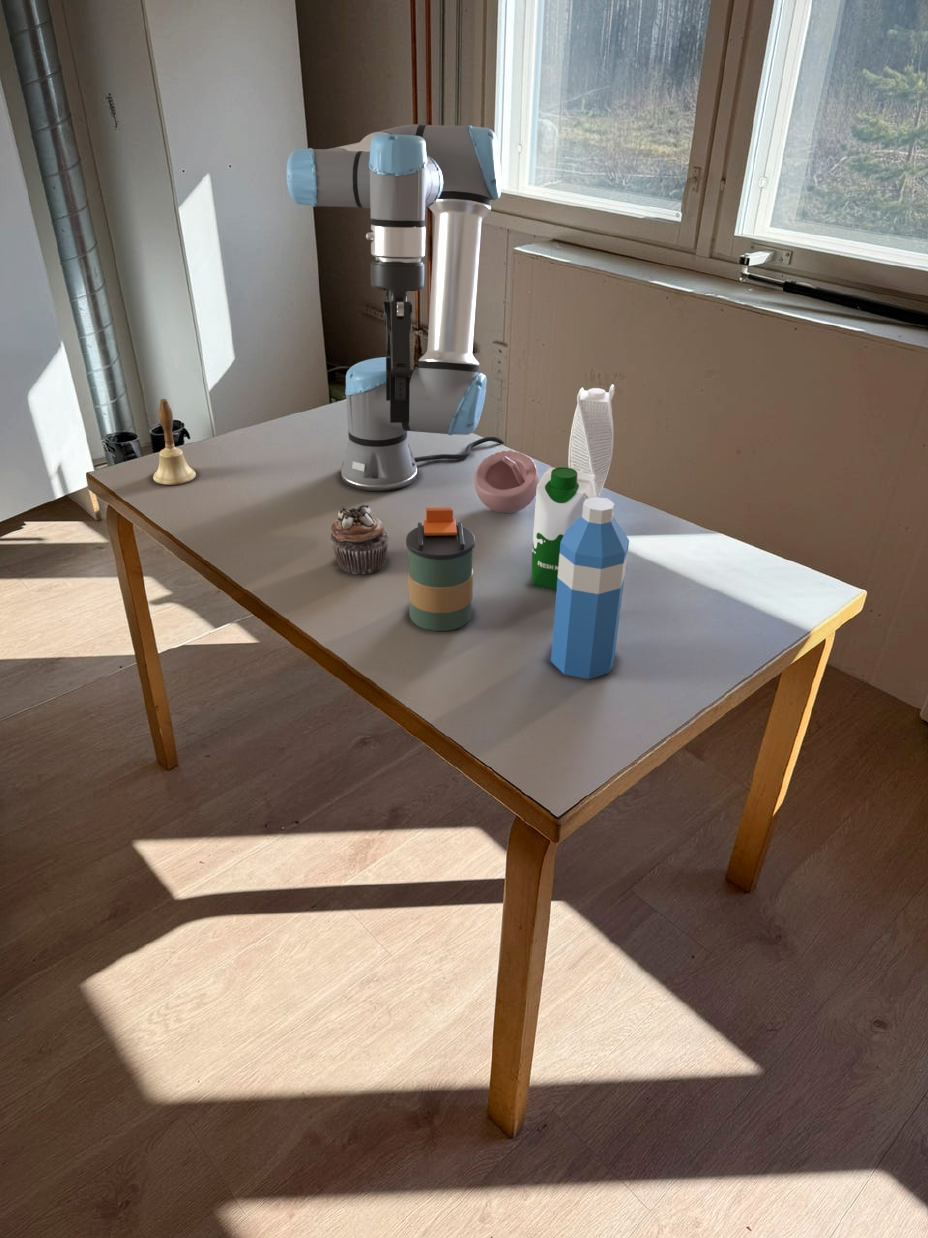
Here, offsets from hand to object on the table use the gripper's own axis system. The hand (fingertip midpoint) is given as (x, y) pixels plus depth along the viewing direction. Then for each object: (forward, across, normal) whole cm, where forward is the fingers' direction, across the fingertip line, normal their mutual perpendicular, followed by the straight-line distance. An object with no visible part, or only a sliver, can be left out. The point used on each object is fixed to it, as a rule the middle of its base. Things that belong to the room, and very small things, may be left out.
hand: (397, 410), depth 138 cm
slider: (+16, +8, +6) cm, 19 cm away
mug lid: (+17, +11, +6) cm, 21 cm away
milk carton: (+28, 0, +27) cm, 39 cm away
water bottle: (+31, +23, +26) cm, 46 cm away
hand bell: (+25, -47, -42) cm, 68 cm away
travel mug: (+29, +9, +6) cm, 32 cm away
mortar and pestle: (+25, -26, +22) cm, 43 cm away
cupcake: (+28, -8, -6) cm, 30 cm away
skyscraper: (+26, -16, +35) cm, 46 cm away
